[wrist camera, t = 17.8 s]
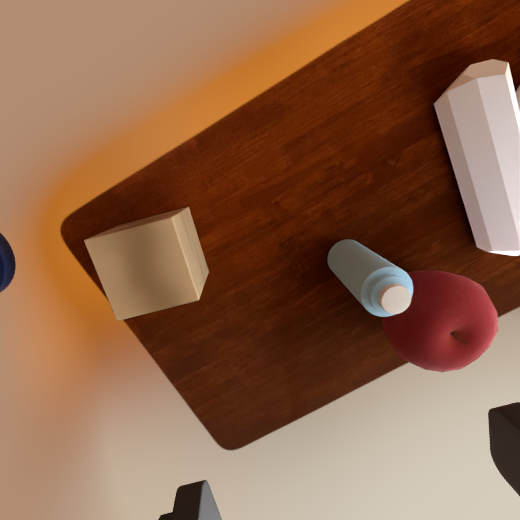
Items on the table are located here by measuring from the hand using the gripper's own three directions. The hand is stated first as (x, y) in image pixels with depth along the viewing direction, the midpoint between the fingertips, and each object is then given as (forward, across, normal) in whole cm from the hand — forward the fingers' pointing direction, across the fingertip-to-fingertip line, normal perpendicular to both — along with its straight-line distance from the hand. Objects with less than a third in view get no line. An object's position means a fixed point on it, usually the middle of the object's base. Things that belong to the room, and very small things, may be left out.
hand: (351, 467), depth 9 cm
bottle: (+35, -10, +6) cm, 37 cm away
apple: (+35, -18, +13) cm, 41 cm away
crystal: (+34, -29, -2) cm, 45 cm away
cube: (+35, +13, -1) cm, 37 cm away
